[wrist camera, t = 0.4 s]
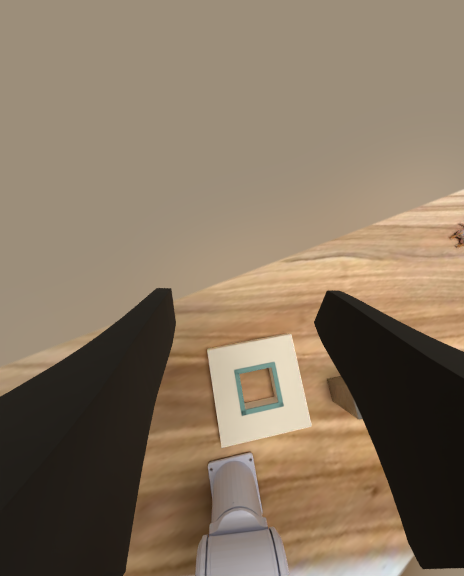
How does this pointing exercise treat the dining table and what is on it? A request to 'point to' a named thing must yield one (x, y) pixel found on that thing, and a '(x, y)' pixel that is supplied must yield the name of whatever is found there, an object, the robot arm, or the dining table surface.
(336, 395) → the grey peg
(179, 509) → the dining table surface
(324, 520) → the dining table surface
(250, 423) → the socket board
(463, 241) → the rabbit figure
